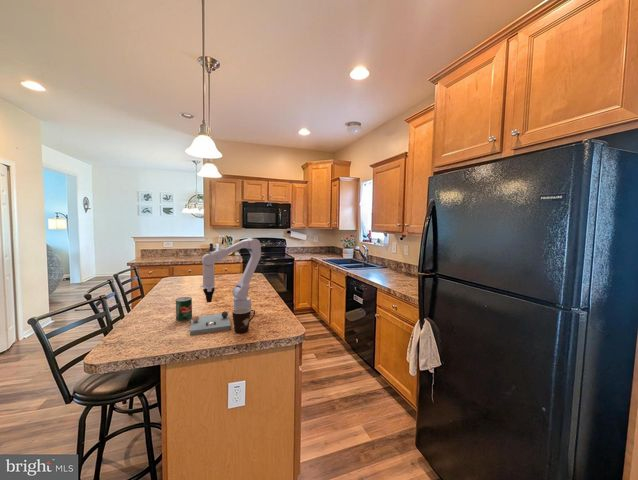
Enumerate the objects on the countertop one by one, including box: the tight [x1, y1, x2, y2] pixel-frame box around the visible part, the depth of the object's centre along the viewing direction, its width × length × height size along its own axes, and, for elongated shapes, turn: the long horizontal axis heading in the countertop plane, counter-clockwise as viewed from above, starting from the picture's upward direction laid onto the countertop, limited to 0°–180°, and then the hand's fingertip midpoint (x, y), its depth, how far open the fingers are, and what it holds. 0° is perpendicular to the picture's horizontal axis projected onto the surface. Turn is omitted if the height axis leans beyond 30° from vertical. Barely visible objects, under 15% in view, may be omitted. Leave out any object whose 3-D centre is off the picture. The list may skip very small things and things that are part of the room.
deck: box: [189, 313, 232, 336], centre depth 136 cm, size 18×20×2 cm
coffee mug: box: [231, 308, 256, 335], centre depth 129 cm, size 12×9×10 cm
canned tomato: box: [175, 296, 193, 322], centre depth 145 cm, size 8×8×11 cm
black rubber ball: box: [221, 311, 229, 318], centre depth 142 cm, size 3×3×3 cm
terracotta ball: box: [191, 314, 199, 322], centre depth 135 cm, size 3×3×3 cm
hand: (209, 302), depth 143 cm, fingers closed
